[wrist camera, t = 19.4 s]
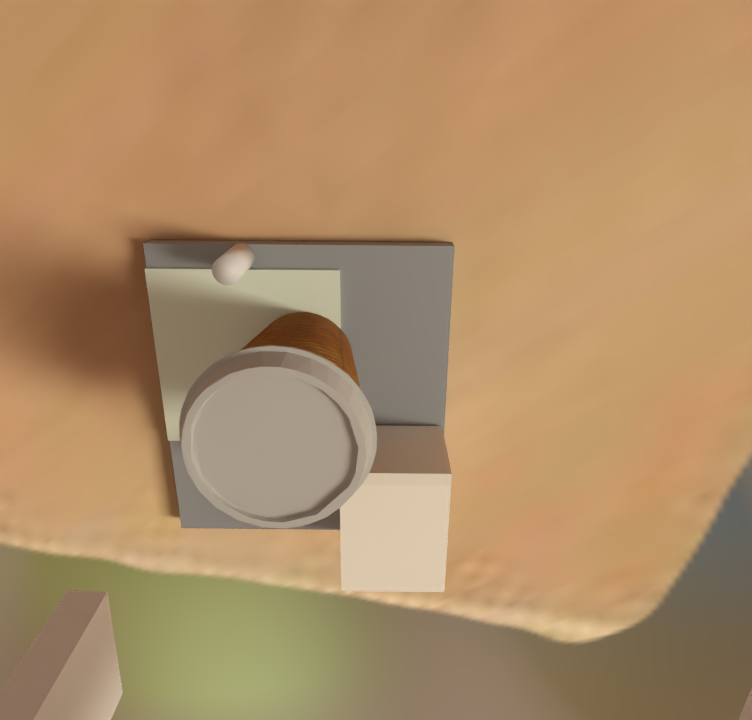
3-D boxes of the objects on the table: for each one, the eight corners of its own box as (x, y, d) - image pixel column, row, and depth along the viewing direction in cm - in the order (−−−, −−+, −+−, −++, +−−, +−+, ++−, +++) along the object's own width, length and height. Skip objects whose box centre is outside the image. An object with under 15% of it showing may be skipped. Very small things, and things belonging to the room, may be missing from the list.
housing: (345, 425, 41) (339, 472, 35) (441, 426, 41) (451, 473, 35) (346, 531, 44) (341, 591, 38) (436, 532, 44) (444, 592, 38)
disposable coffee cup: (260, 437, 41) (215, 554, 30) (209, 308, 37) (137, 385, 26) (394, 404, 40) (399, 512, 29) (354, 269, 36) (343, 332, 25)
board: (149, 238, 37) (115, 255, 33) (452, 241, 37) (462, 258, 32) (186, 518, 45) (163, 565, 40) (437, 520, 45) (444, 568, 40)
